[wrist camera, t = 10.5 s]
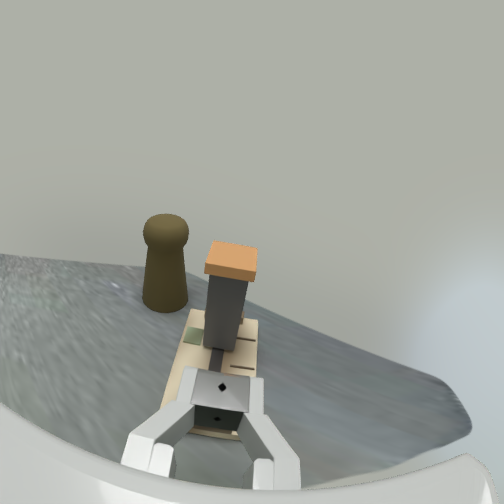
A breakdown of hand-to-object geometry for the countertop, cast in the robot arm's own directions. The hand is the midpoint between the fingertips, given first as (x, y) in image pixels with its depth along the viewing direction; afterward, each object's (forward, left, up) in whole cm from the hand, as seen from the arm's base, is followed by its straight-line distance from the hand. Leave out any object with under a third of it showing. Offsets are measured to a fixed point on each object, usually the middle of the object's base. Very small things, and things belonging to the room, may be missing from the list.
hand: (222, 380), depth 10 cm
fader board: (-1, +11, -14) cm, 18 cm away
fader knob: (-1, +14, -12) cm, 19 cm away
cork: (-9, +21, -14) cm, 27 cm away
